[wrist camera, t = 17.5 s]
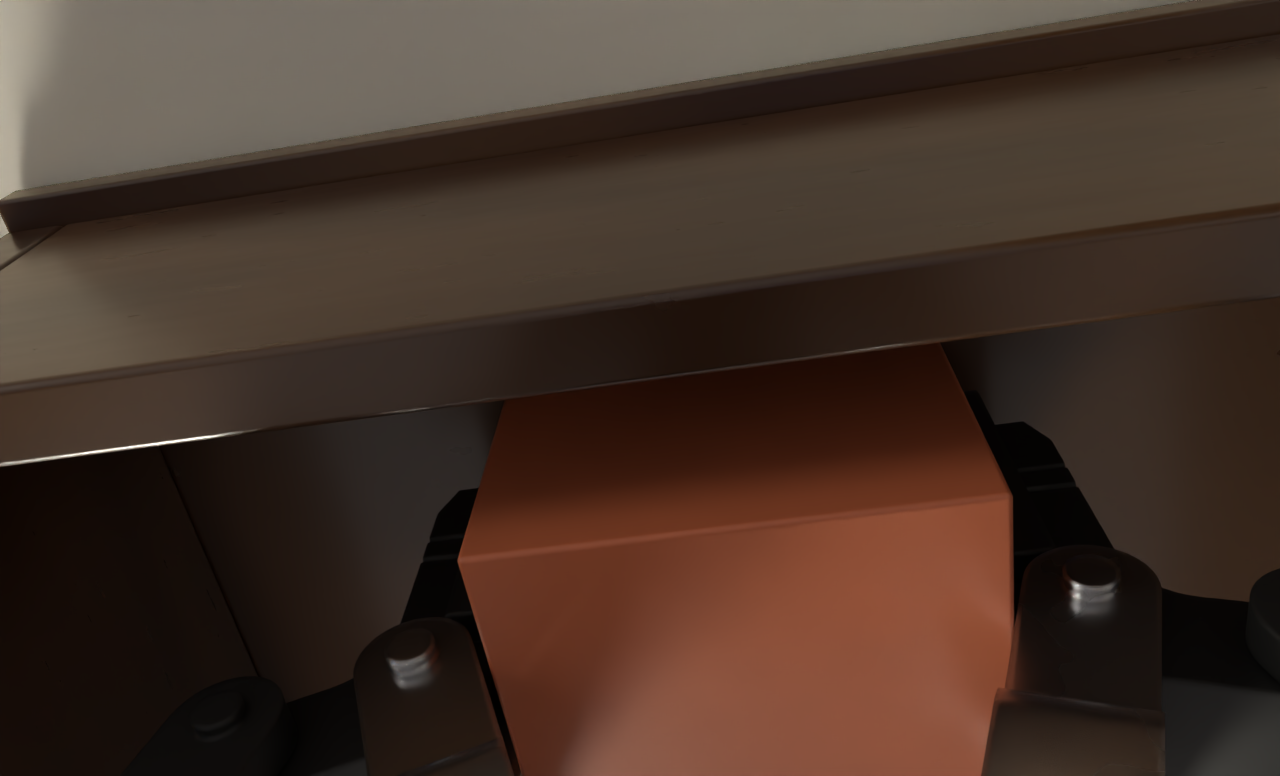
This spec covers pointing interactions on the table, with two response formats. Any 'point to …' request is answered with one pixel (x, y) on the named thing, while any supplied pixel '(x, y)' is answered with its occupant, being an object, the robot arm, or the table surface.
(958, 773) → the block
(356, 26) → the table surface
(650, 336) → the tray
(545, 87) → the table surface
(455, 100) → the table surface
